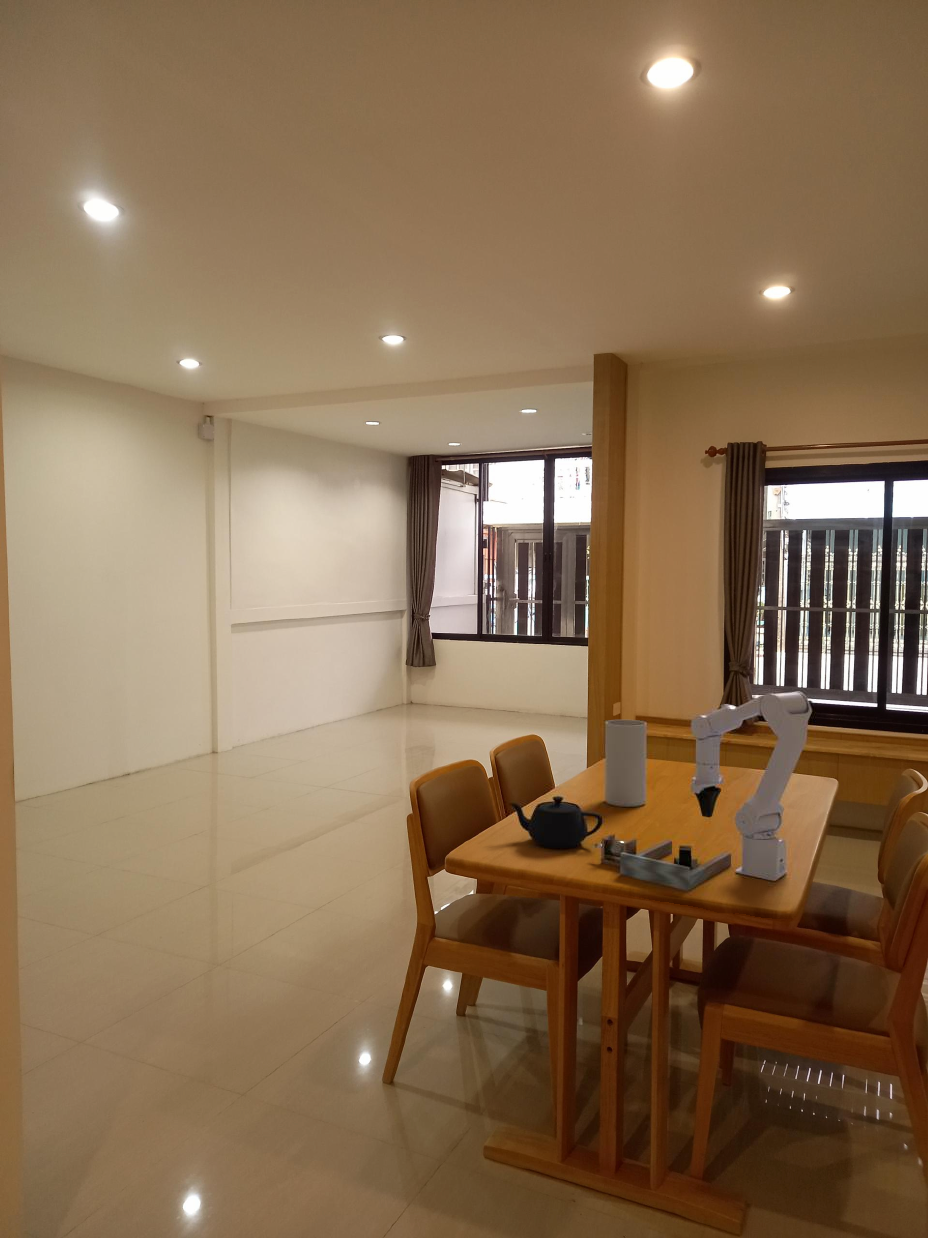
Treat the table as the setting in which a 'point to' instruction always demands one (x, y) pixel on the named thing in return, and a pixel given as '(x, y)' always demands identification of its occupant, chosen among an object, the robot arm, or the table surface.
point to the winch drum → (615, 849)
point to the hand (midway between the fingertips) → (707, 816)
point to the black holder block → (686, 857)
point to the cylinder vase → (625, 763)
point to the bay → (669, 867)
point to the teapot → (557, 823)
